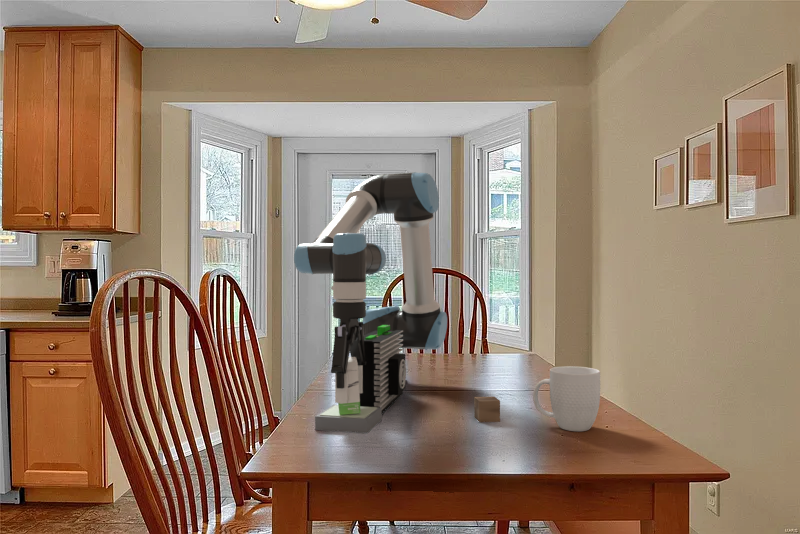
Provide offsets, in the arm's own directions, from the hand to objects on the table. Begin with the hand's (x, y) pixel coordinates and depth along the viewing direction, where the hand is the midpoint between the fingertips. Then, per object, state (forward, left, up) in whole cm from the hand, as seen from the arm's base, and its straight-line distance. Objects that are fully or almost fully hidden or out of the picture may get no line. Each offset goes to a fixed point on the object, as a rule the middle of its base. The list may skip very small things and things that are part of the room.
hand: (349, 397), depth 149 cm
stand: (0, 0, -6) cm, 6 cm away
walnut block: (-13, +30, -6) cm, 33 cm away
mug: (-10, +49, -7) cm, 50 cm away
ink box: (0, 0, -3) cm, 3 cm away
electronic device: (-24, +1, -7) cm, 25 cm away
